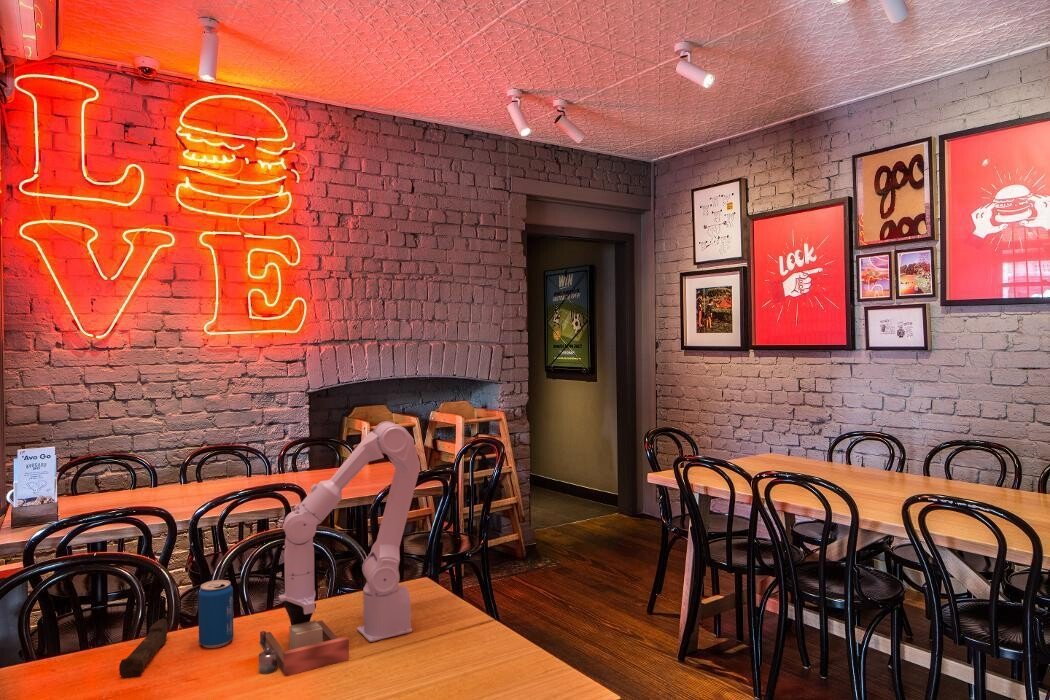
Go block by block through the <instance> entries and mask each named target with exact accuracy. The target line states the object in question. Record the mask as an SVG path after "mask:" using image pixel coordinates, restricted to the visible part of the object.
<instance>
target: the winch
mask: <svg viewBox="0 0 1050 700" xmlns="http://www.w3.org/2000/svg"><path fill="white" fill-rule="evenodd" d="M259 637H260V638H259V646H260V647H261V648H262V650H263V651H261V652H260V653H258V672H259V673H260V674H261V675H262V674H264V675H265V674H272V673H275V672H276V671H277V670H278V664H277V651H275V650H271V648H270V646H269V645H268V643H267V642H266V631H265V630H262V631H260V632H259Z"/></svg>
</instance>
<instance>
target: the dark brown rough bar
mask: <svg viewBox="0 0 1050 700" xmlns="http://www.w3.org/2000/svg"><path fill="white" fill-rule="evenodd" d="M168 633H169V632H168V621H167V619H166V618H161V619H160V618H159V619H158V620H157V621H156V622H155V623H154V624H151V626H150V627H149V632H148V634H147V635H146V636H145V638H144V639H143V640H141V642H140V643H139V644H138V645H137V647H135V649H133V651H132V652H131V653H130V654H129V655H128V656H126V658H123V659H121V661H120V663H119V669H118V670H119V673H118V674H119V675H120V676H121V678H122V679H128V678H129V679H131V678H132V677H133V678H137V677H140V676H141V675H142V673H143V672H144V669H145V667H146V665H147V664H148V662H149V661H150V660H151V659H152V658H153V657H154V655H155V654H156V653H157V651H158V650H159V649H161V648H164V646H165V645H166V642H167V636H168Z"/></svg>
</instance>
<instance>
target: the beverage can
mask: <svg viewBox="0 0 1050 700" xmlns="http://www.w3.org/2000/svg"><path fill="white" fill-rule="evenodd" d="M197 596H198V597H197V598H198V602H197V603H198V604H197V605H198V606H197V607H198V644H199V645H201V646H203V648H206V649H215V648H216V649H218V648H220V647H224V646H226V645H227V644H229V643H230V641H232V640H233V638H234V587H233V586H232V585H231V581H230V580H228V579H227V580H226V579H216V580H209V581H206V582H204V583H202V584H201V585H200V589H199V590H198V594H197Z"/></svg>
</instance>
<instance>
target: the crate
mask: <svg viewBox="0 0 1050 700" xmlns="http://www.w3.org/2000/svg"><path fill="white" fill-rule="evenodd" d="M317 621H318V620H310V622H305V623H301V624H296V625H292V626H291V625H289V628H288V629H289V630H288V631H289V634H288V635H289V650H292V649H296V648H300V647H304V646H308V645H313V644H317V643H321V642H324V640H323V636H322V628H321V626H320V625H319V624H318V623H317Z"/></svg>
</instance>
